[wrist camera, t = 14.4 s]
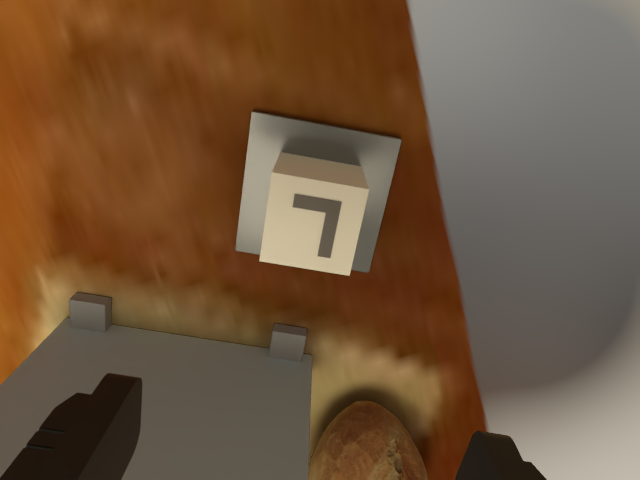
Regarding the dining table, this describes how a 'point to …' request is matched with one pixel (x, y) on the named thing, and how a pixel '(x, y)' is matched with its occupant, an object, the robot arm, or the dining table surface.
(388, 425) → the bread roll
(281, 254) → the letter cube
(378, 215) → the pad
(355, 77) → the dining table surface
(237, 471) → the screen
